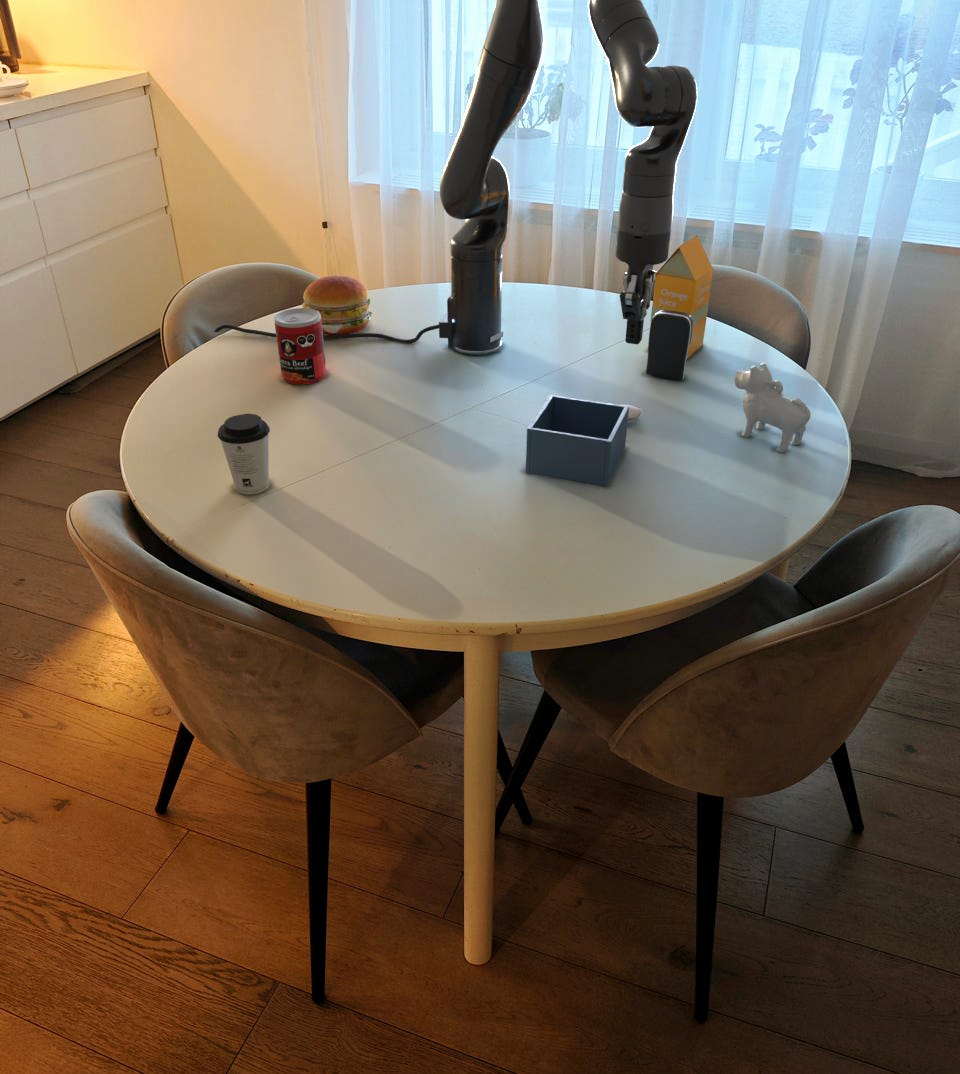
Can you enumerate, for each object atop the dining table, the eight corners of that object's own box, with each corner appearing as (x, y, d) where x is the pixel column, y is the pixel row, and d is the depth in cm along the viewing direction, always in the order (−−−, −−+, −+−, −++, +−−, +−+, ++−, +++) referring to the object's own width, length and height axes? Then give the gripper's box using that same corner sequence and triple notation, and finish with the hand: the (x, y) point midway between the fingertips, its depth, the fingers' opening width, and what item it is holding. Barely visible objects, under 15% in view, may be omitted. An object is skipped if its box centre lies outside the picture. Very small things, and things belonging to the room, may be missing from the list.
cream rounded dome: (607, 417, 145) (608, 402, 144) (634, 411, 147) (635, 397, 146) (621, 428, 142) (622, 413, 141) (648, 422, 144) (650, 408, 142)
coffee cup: (253, 504, 123) (242, 438, 118) (216, 490, 126) (204, 425, 121) (287, 482, 128) (279, 418, 123) (251, 469, 131) (241, 406, 126)
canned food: (273, 381, 157) (264, 320, 151) (297, 364, 163) (290, 305, 157) (311, 388, 155) (304, 326, 149) (334, 371, 161) (329, 311, 155)
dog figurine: (739, 417, 146) (750, 354, 140) (809, 445, 137) (823, 379, 132) (718, 427, 143) (729, 363, 137) (789, 456, 135) (803, 389, 129)
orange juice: (703, 345, 171) (718, 237, 160) (686, 360, 165) (700, 249, 154) (664, 336, 175) (677, 231, 164) (646, 351, 169) (657, 242, 158)
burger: (368, 340, 173) (364, 289, 167) (297, 340, 173) (291, 289, 168) (376, 316, 184) (373, 267, 179) (309, 316, 184) (304, 267, 179)
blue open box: (526, 428, 127) (611, 441, 123) (550, 394, 136) (629, 406, 133) (525, 472, 130) (607, 486, 127) (548, 436, 140) (625, 448, 137)
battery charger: (688, 374, 160) (696, 311, 153) (682, 382, 157) (691, 318, 151) (649, 367, 162) (656, 305, 156) (643, 375, 159) (650, 312, 153)
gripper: (630, 211, 134) (620, 324, 143) (606, 234, 124) (597, 354, 133) (680, 216, 132) (667, 331, 141) (660, 239, 121) (647, 361, 131)
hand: (633, 342), depth 137 cm, fingers closed
